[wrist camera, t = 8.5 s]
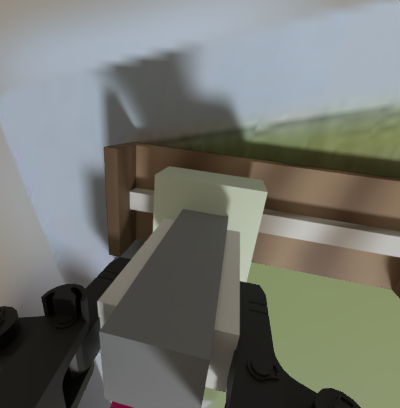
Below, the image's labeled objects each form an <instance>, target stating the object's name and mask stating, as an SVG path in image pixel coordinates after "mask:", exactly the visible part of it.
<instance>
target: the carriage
mask: <svg viewBox="0 0 400 408" xmlns="http://www.w3.org/2000/svg"><path fill="white" fill-rule="evenodd" d="M267 193H268V192H267V189H266V187H265V184H264V182H263V180H259V179H252V178H245V177H239V176H232V175H225V174H218V173H212V172H205V171H198V170H192V169H185V168H178V167H171V166H169V167H167V168H165V169H164V170H162V171H160V172H159V173H157V174H155V185H154V214H153V232H154V231H155V229H156V228H157V227H158V226H159V225H160V223H161V222H162V221H163V220H164V218H165V219H171V220H175V221H174V223H173V224H172V226H171V227H170V229H169V230H168V232H167V233H166V235H165V236H164V237H163V239H162V240H161V242H160V243H159V245H158V246H157V248H156V249H155V251H154V252H153V254H152V255H151V256H150V258H149V259H148V261H147V262H146V264H145V265H144V267H143V268H142V270H141V271H140V273H139V274H138V275H137V277H136V278H135V280H134V281H133V283H132V284H131V286H130V287H129V289H128V290H127V292H126V293H125V294H124V296H123V297H122V299H121V300H120V302H119V303H118V305H117V306H116V308H115V309H114V311H113V312H112V313H111V315H110V316H109V318H108V319H107V321H106V322H105V324H104V325H103V327H102V328H101V330H100V331H99V336H100V348H101V359H102V371H103V383H104V394H105V399H107V400H110V401H114V402H117V403H120V404H123V405H127V406H130V407H133V408H201V405H202V400H203V395H204V390H205V385H206V379H207V374H208V369H209V364H210V358H211V350H212V342H213V335H214V327H215V319H216V311H217V304H218V296H219V288H220V280H221V273H222V265H223V257H224V249H225V242H226V234H227V230H232V231H237V232H240V281H242V282H247V278H248V273H249V269H250V265H251V261H252V256H253V252H254V248H255V244H256V240H257V235H258V231H259V227H260V223H261V218H262V214H263V210H264V206H265V202H266V197H267Z"/></svg>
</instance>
